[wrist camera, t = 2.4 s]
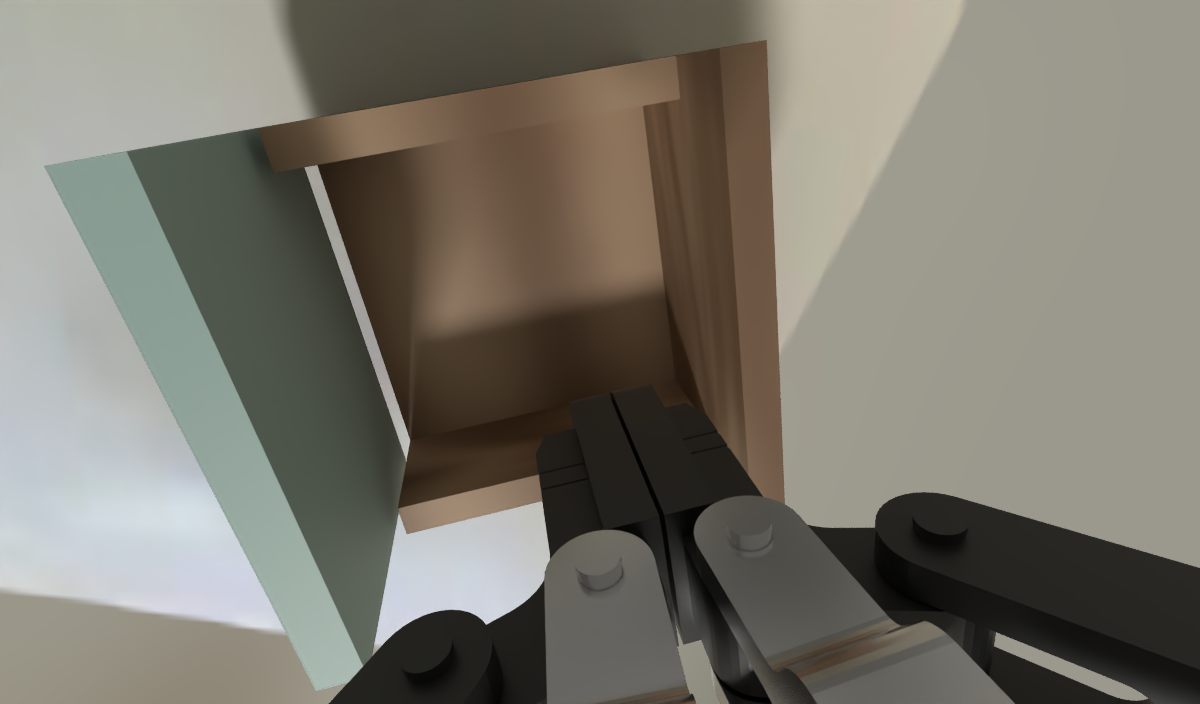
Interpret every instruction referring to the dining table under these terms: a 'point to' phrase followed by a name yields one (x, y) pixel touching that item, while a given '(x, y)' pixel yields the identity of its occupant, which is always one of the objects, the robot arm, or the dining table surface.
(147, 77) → the dining table surface
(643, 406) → the robot arm
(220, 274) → the panel
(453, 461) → the brown wooden open box
